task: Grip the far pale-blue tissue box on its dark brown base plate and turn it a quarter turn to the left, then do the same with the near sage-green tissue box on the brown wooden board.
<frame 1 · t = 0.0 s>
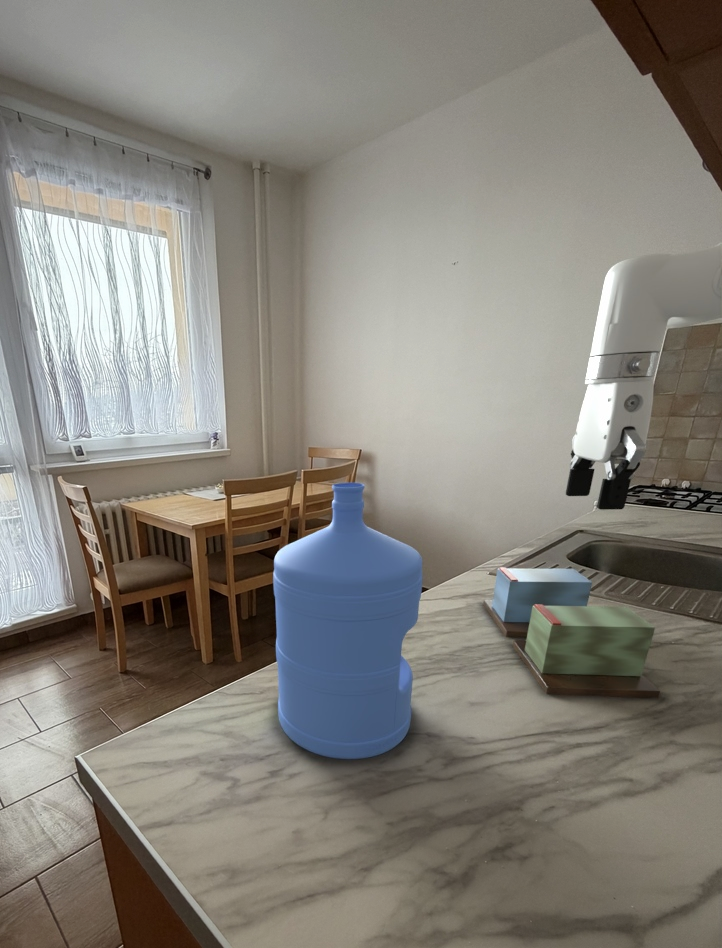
hand: (592, 501, 70), 21 cm above the countertop, tool pointing down, fingers open, 9 cm apart
water jug: (343, 720, 58), on the countertop
brown wooden board: (577, 672, 66), on the countertop
near tissue box: (585, 638, 64), point 5 cm above the countertop, hinge at 0.0°
dark brown base plate: (533, 622, 81), on the countertop
far tissue box: (539, 594, 79), point 5 cm above the countertop, hinge at 0.0°
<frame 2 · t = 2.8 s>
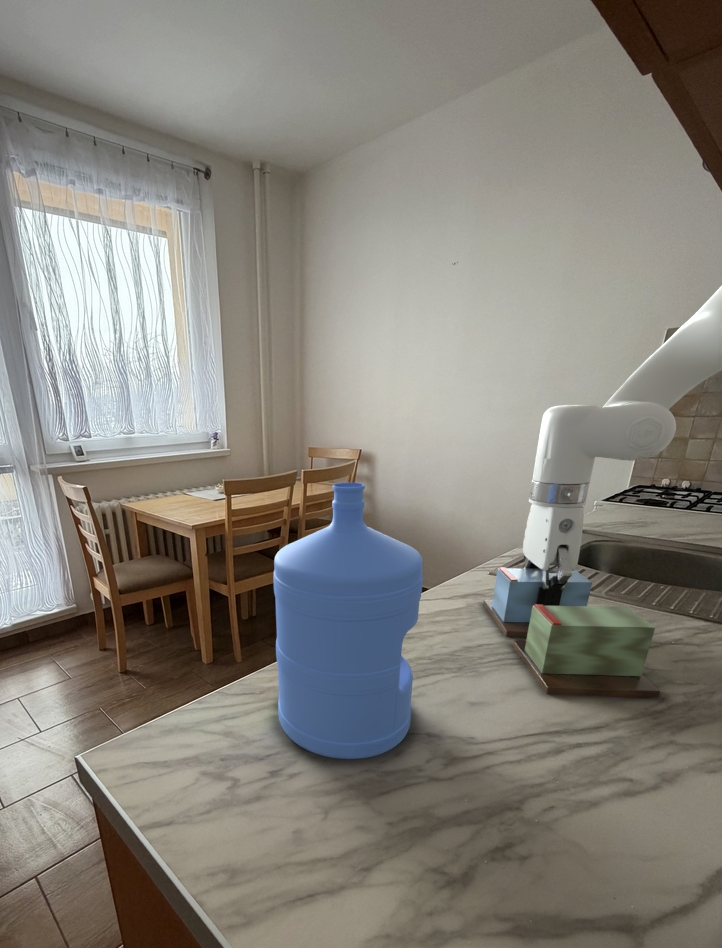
hand: (537, 601, 79), 4 cm above the countertop, tool pointing down, fingers closed on far tissue box, 6 cm apart
far tissue box: (539, 594, 79), point 5 cm above the countertop, hinge at 0.0°, touching gripper
everything else where it was.
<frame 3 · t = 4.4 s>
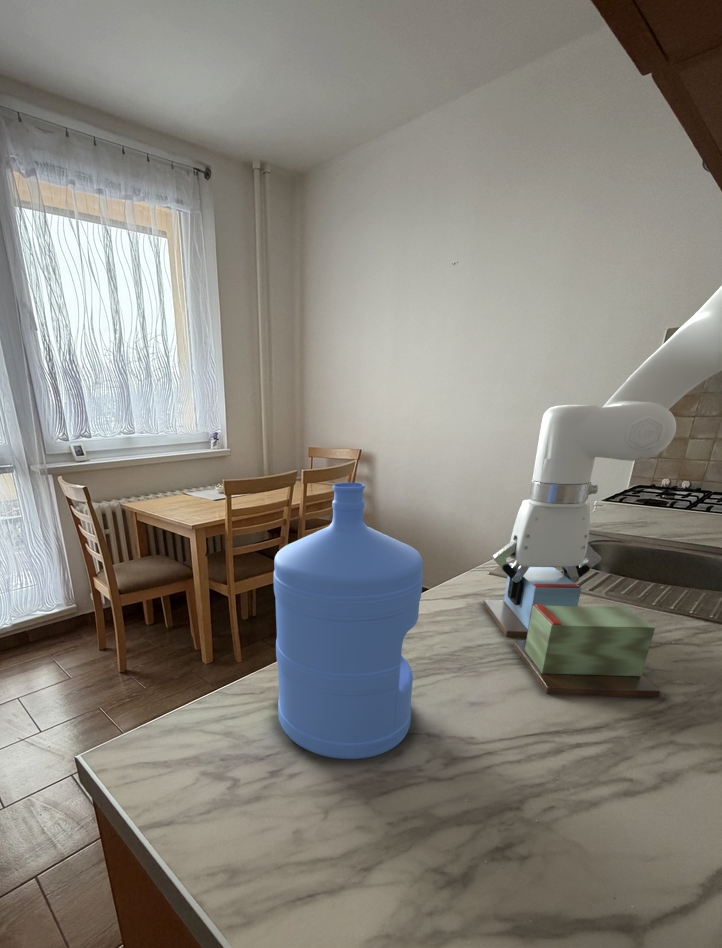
hand: (537, 601, 79), 4 cm above the countertop, tool pointing down, fingers closed on far tissue box, 6 cm apart
far tissue box: (539, 594, 79), point 5 cm above the countertop, hinge at 90.0°, touching gripper
everything else where it was.
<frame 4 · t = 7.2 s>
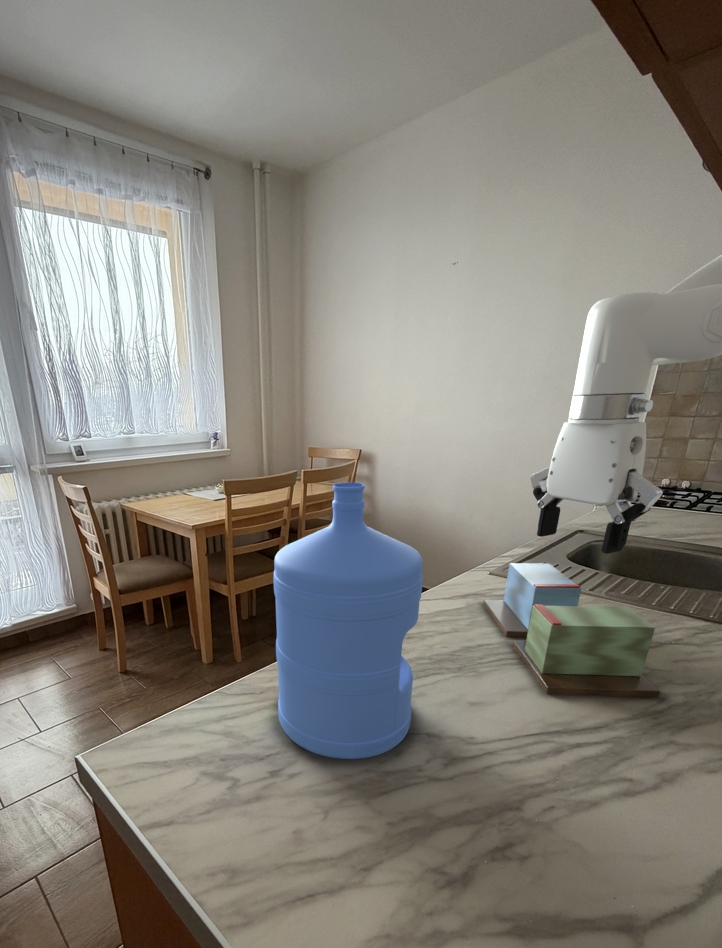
hand: (576, 542, 67), 16 cm above the countertop, tool pointing down, fingers open, 9 cm apart
far tissue box: (539, 594, 79), point 5 cm above the countertop, hinge at 90.0°
everything else where it was.
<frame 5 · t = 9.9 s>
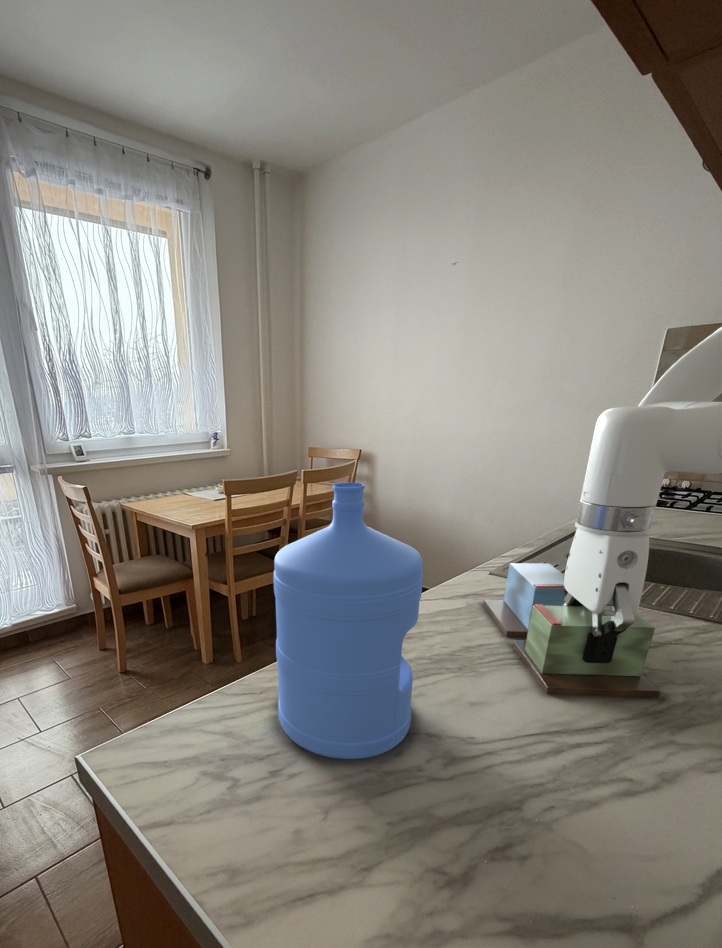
hand: (582, 647, 65), 4 cm above the countertop, tool pointing down, fingers closed on near tissue box, 6 cm apart
near tissue box: (585, 638, 64), point 5 cm above the countertop, hinge at 0.0°, touching gripper
everything else where it was.
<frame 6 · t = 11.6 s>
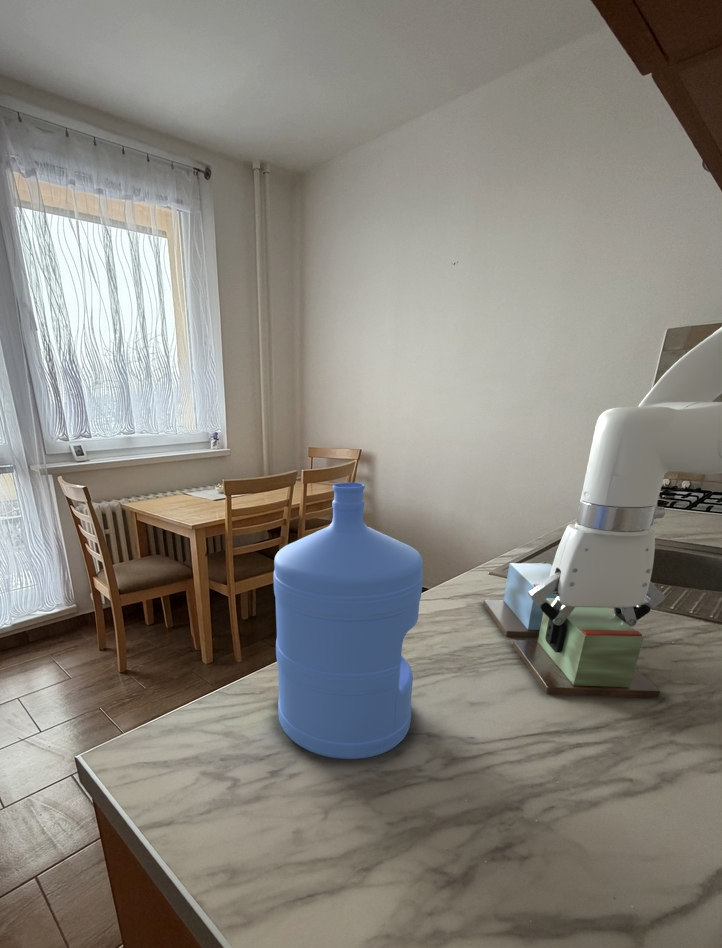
hand: (582, 647, 65), 4 cm above the countertop, tool pointing down, fingers closed on near tissue box, 6 cm apart
near tissue box: (585, 638, 64), point 5 cm above the countertop, hinge at 89.9°, touching gripper
everything else where it was.
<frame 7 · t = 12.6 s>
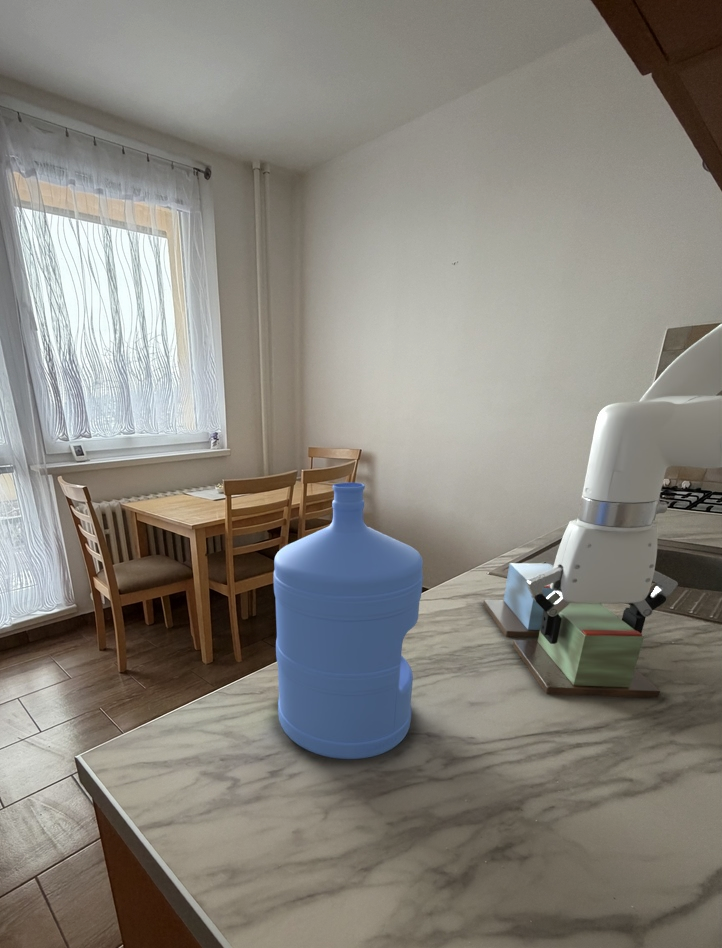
hand: (587, 639, 64), 5 cm above the countertop, tool pointing down, fingers open, 9 cm apart
near tissue box: (585, 638, 64), point 5 cm above the countertop, hinge at 90.0°
everything else where it was.
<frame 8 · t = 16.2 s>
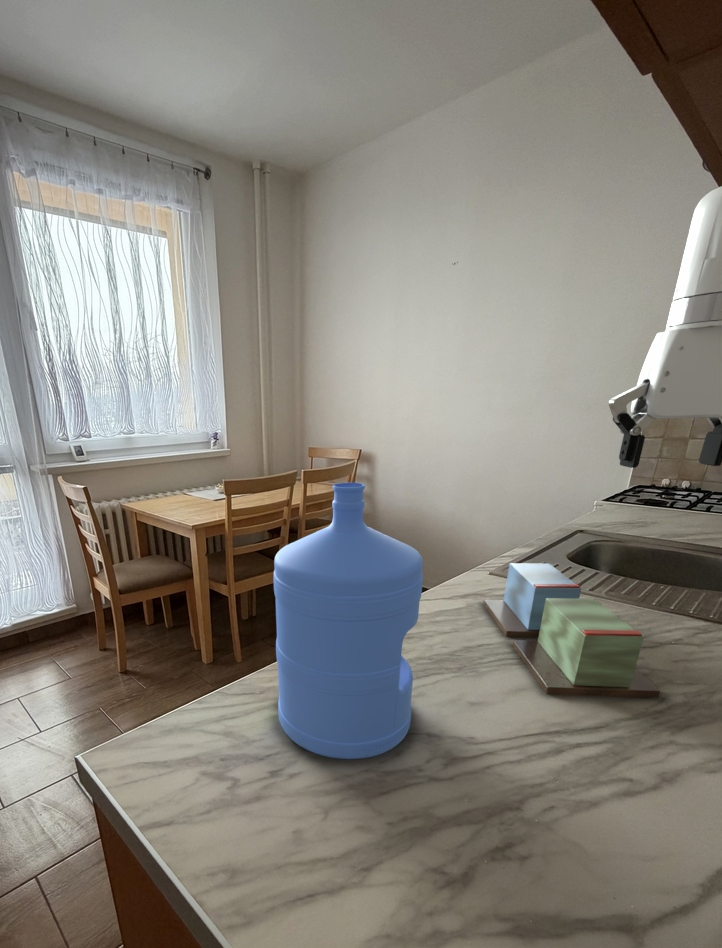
hand: (668, 465, 63), 26 cm above the countertop, tool pointing down, fingers open, 9 cm apart
nothing on the countertop moved.
at the end: far tissue box at +90° (first picture: +0°); near tissue box at +90° (first picture: +0°) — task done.
